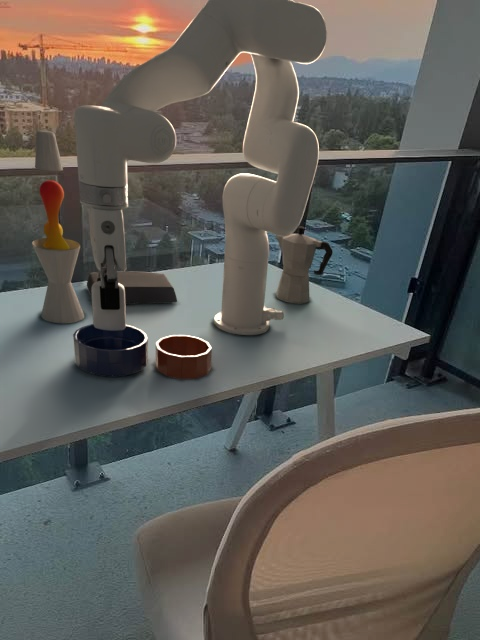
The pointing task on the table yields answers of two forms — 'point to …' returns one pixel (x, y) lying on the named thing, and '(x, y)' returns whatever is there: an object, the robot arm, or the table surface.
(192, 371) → the brown round container
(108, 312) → the eye dropper bottle
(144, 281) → the hard drive
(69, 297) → the lava lamp
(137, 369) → the bowl
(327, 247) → the coffeepot
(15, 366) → the table surface
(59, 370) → the table surface
